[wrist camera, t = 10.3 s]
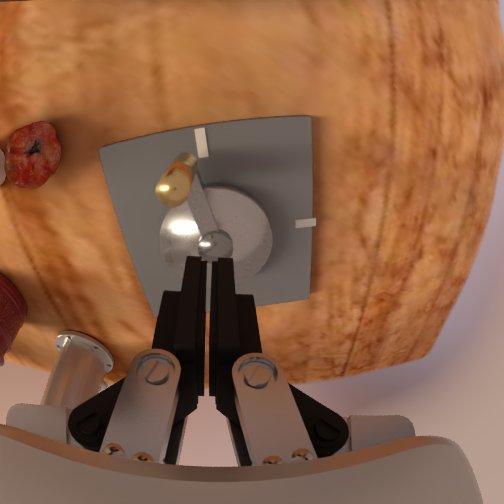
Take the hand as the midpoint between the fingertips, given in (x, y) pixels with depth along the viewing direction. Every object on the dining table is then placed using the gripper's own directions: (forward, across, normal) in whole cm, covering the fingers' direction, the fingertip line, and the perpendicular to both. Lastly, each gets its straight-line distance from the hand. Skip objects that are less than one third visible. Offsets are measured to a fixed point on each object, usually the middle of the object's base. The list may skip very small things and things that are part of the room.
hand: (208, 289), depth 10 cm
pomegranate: (+21, +21, -1) cm, 30 cm away
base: (+21, 0, +8) cm, 23 cm away
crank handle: (+19, 0, +6) cm, 20 cm away
